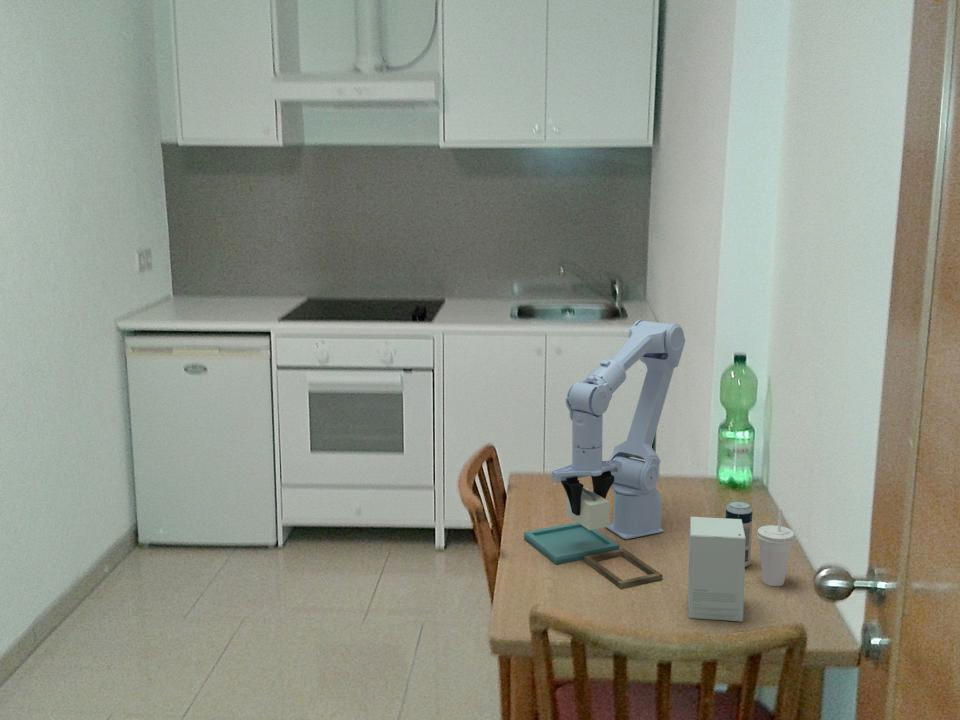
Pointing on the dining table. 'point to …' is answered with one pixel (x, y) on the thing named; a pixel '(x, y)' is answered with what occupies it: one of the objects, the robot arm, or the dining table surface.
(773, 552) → the smoothie
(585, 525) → the white block with handle
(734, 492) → the dining table surface
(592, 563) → the brown flat rectangular frame
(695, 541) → the supplement box
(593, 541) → the tray
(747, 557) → the beer can
